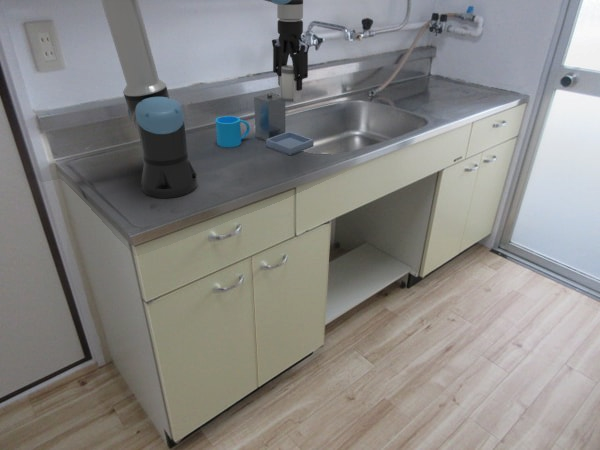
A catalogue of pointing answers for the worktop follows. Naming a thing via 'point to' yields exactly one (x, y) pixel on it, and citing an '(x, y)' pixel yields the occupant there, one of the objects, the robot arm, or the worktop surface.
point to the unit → (269, 116)
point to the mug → (229, 131)
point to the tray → (289, 143)
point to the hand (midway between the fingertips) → (290, 98)
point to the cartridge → (287, 83)
